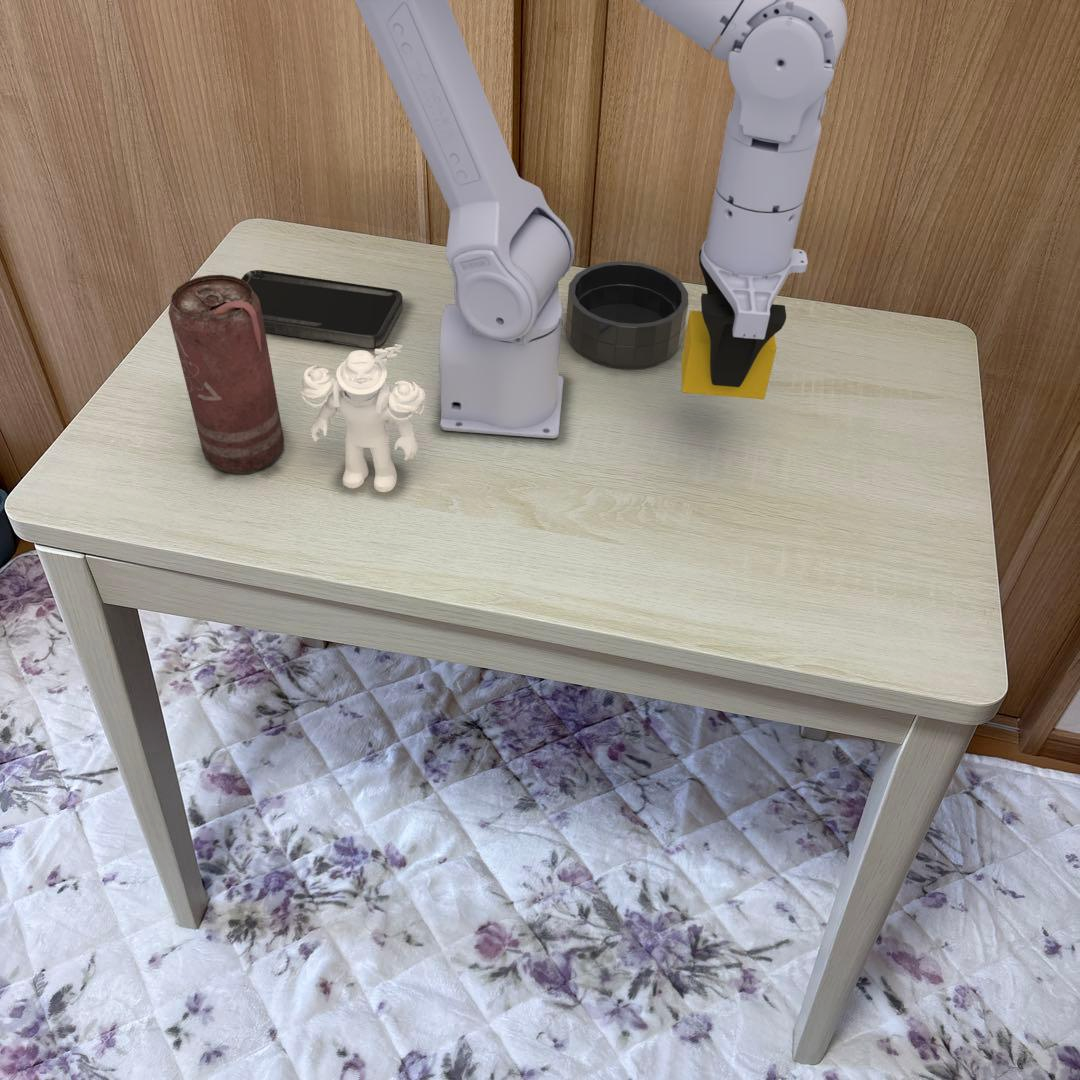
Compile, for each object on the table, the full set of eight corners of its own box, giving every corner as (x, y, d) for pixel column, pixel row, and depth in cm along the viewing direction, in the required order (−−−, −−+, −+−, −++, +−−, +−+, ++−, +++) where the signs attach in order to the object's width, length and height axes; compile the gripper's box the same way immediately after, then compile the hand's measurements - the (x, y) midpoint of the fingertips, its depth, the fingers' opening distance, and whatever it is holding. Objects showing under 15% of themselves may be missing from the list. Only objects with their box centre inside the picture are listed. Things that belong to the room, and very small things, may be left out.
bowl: (562, 366, 91) (565, 322, 88) (568, 300, 98) (571, 257, 95) (682, 375, 91) (690, 331, 88) (680, 308, 98) (686, 265, 95)
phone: (249, 268, 98) (405, 290, 96) (251, 279, 99) (406, 301, 97) (214, 314, 92) (379, 339, 91) (216, 325, 93) (380, 350, 91)
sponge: (681, 393, 77) (690, 341, 74) (681, 360, 80) (689, 309, 77) (764, 400, 77) (776, 348, 74) (760, 367, 80) (772, 316, 76)
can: (270, 483, 79) (240, 326, 69) (191, 469, 80) (149, 312, 70) (299, 433, 84) (274, 278, 74) (223, 420, 84) (189, 265, 74)
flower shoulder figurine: (434, 471, 81) (428, 340, 73) (420, 505, 78) (412, 373, 70) (322, 452, 82) (303, 321, 74) (304, 485, 79) (282, 353, 71)
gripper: (836, 255, 62) (787, 432, 72) (811, 145, 73) (771, 313, 82) (716, 245, 63) (684, 423, 72) (708, 137, 73) (681, 306, 82)
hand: (724, 364), depth 77 cm, fingers closed on sponge, 4 cm apart
